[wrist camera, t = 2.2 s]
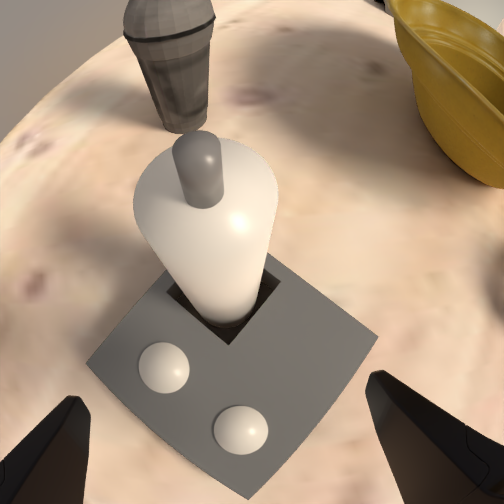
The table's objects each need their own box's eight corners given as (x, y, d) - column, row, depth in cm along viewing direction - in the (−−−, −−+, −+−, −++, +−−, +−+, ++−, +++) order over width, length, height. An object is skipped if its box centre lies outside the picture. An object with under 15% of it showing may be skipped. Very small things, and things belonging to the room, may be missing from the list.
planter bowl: (477, 310, 22) (588, 260, 9) (303, 74, 32) (321, -22, 19) (559, 203, 28) (607, 161, 16) (443, 60, 38) (469, 7, 26)
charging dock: (247, 484, 17) (248, 500, 14) (104, 364, 20) (84, 363, 17) (361, 341, 21) (379, 336, 18) (219, 233, 24) (217, 214, 21)
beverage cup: (145, 108, 29) (105, -60, 10) (209, 89, 30) (199, -79, 11) (156, 153, 27) (101, -52, 8) (230, 131, 28) (228, -76, 9)
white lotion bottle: (229, 340, 21) (200, 271, 6) (182, 301, 22) (80, 166, 7) (268, 293, 22) (320, 141, 7) (221, 257, 23) (196, 75, 8)
